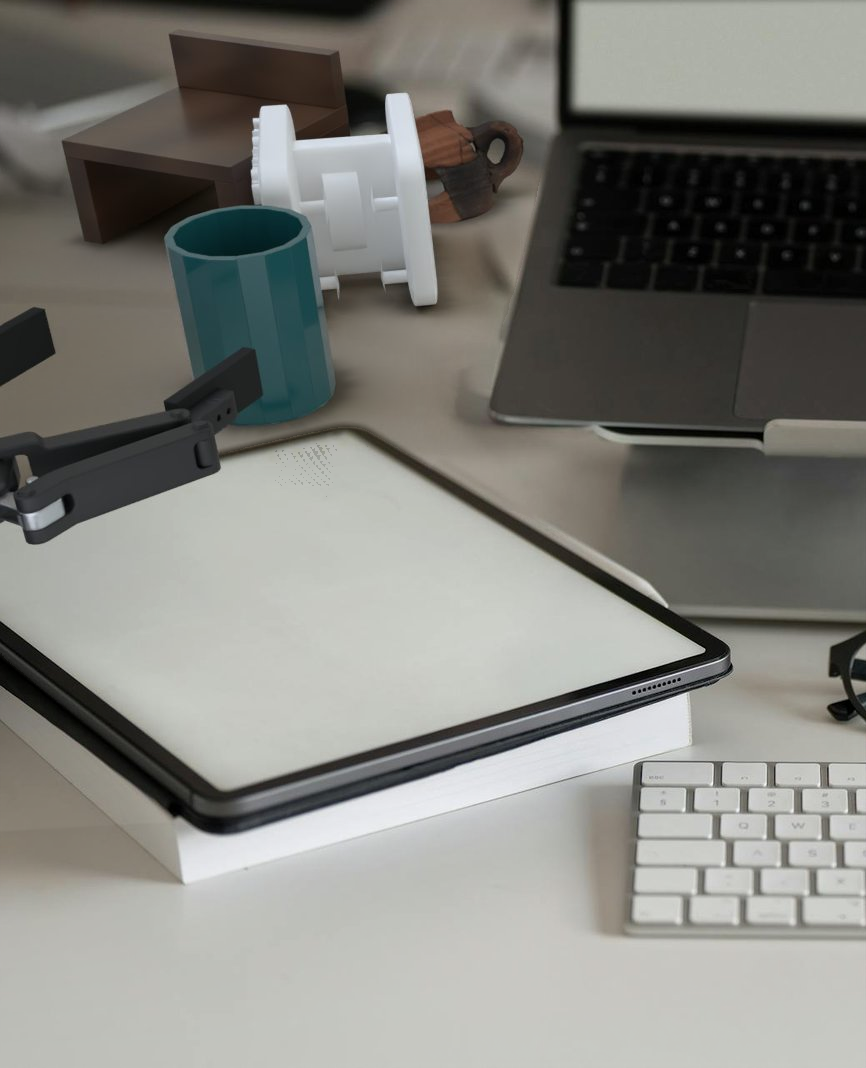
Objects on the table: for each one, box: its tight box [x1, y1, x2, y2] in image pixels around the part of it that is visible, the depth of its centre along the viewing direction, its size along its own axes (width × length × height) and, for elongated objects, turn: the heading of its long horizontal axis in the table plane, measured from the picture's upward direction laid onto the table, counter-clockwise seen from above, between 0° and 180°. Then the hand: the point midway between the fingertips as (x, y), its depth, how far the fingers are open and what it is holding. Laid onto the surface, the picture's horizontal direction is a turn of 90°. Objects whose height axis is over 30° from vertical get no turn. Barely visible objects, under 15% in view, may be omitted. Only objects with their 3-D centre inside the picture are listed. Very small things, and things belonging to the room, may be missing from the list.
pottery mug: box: [377, 109, 525, 224], centre depth 129 cm, size 12×10×8 cm
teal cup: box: [163, 205, 337, 427], centre depth 100 cm, size 8×8×11 cm
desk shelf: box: [61, 29, 351, 245], centre depth 123 cm, size 14×14×12 cm
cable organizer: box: [251, 92, 438, 307], centre depth 114 cm, size 15×11×12 cm
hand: (147, 349), depth 92 cm, fingers open, 13 cm apart
